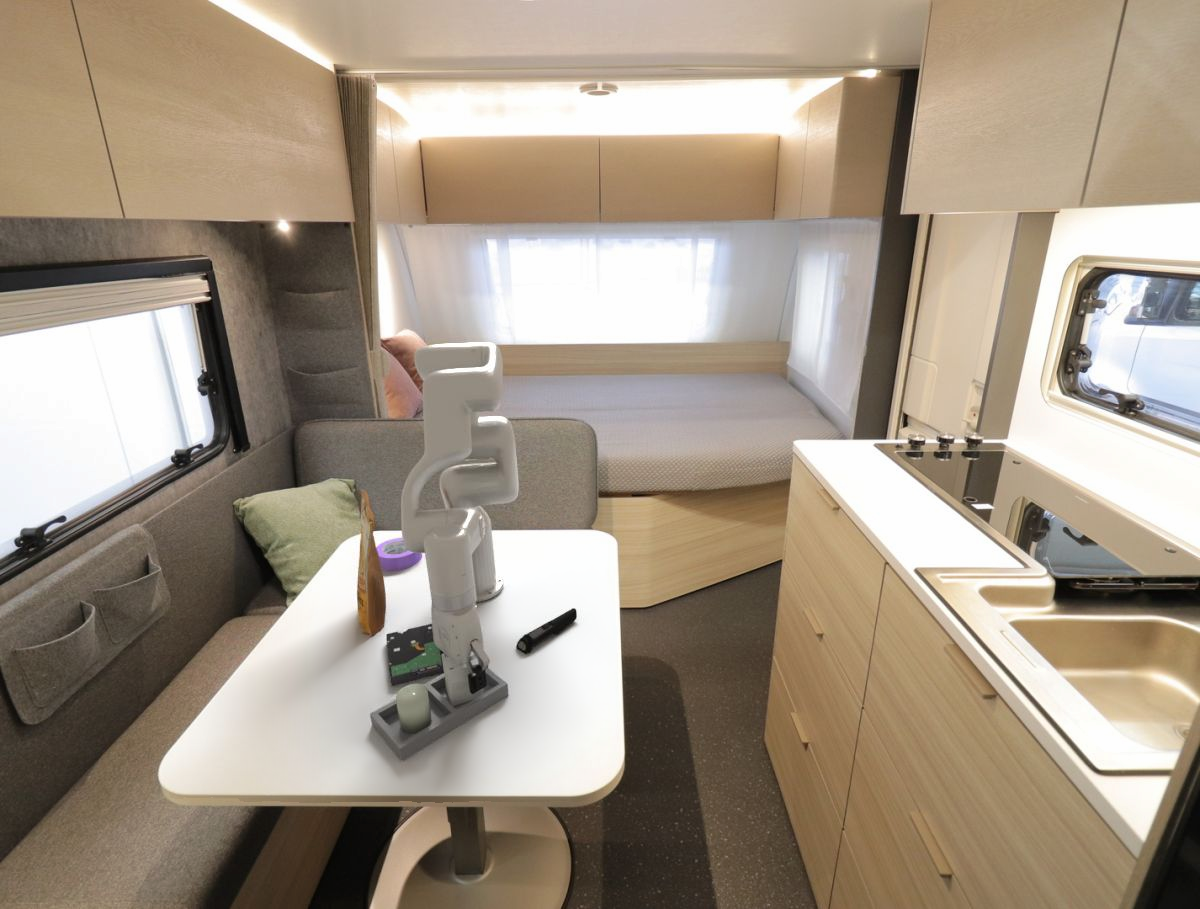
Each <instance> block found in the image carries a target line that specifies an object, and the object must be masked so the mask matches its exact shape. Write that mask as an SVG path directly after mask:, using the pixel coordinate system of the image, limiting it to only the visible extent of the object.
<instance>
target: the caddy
mask: <svg viewBox="0 0 1200 909" xmlns="http://www.w3.org/2000/svg"><path fill="white" fill-rule="evenodd" d="M485 672H486V681H487V685H486V687H484V688H483V691H484V694H482V695H480V696H479V697H477V698H475V699H474V700H472V701H468V702H465V703H462V704H459V705H455V706H452V705H451V703H450V700H449V697H448V693H447V690H446V683H445V676H444V673H443V674H439V675H437V676H436V677H434V678H432V679H430V680H429V681H427V682H425V683H423V684H422V685H424V686H426V688H427V690H428V697H429V704H430V710H431V717H432V721H431V724H430V725H429V727H427V728H425V729H424V730H422V731H420V732H419V733H416V734H407V733H405V732H403V731H402V730H401V726H400V721H399V715H398V709H397V703H396V699H394V700H392V701H391V702H389V703H387V704H385V705H383V706H381V707H380V708H378V709H376V710H374V711H372V712H371V713H370V714H369V716H370V720H371V721H370V722H371V726H372V727H373V729H374V730H375V731H376V732H377V733H378V734H379V736H380V737H381V738H382V740H383V741H384V742H385V743H386V744H387V745H388V746H389V748H390V749H391V750H392V751H393V752H394V754H395V755H396V756H397V757H398V758H399V760H400V762H404V761H406V759H409V758H410V757H412V756H413V755H415V754H417V753H418V752H420V751H422V750H423V749H425V748H426V747H428V746H429V745H431V744H432V743H434V742H435V741H438V740H439V739H441V738H442V737H444V736H446V735H448V734H449V733H450V732H453V730H455V729H457V728H458V727H460V726H461V725H463V724H465V723H466V722H468V721H469V720H471V719H473V718H475V717H476V716H478V715H480V714H481V713H482V712H484V711H486V710H488V709H490V708H491V707H492V706H494V705H496V704H497V703H499V702H500V701H502V700H503V699H505V698H507V697H508V696H509V686H508V685H509V684H508V683H507V682H506V681H505V680H503V679H502V678H501V677H500V676H499V675H497V673H495V672H494V671H492V670H491V669H490V668H489V667H488V668H487V669H486V670H485Z"/></svg>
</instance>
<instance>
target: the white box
mask: <svg viewBox="0 0 1200 909" xmlns="http://www.w3.org/2000/svg"><path fill="white" fill-rule="evenodd" d="M473 655H474V653H473V651H472V652H471V654H470V657H471V656H473ZM442 662H443V669H444V673H443V674H444V676H445V683H446V690H447V693H448V697H449V700H450V703H451V705H452V706H455V705H459V704H462V703H465V702H468V701H472V700H474V699H475V698H477V697H479V696H480V695H482V694H484V691H483V689H481V690H479V691H478V692H476V693H474V694H471V693H470V689H469V681H468V674H470V673H469V670H468V668H467V666H466V664H464V665H459V664H457V663H456V662H454V661H453V660H452V659H451V658H449V657H448V656H447V655H446V654H445V653H443V654H442ZM471 663H472V666H473V668H475V667H476V666H477V665H478V660H477V658H475V659H473V660H471Z"/></svg>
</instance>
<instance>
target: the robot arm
mask: <svg viewBox="0 0 1200 909" xmlns="http://www.w3.org/2000/svg"><path fill="white" fill-rule="evenodd" d="M413 360H414V365H415V368H416V371H417V372H416V373H418V376H419V377H420V378H421V379H422V381H423V383H422V409H423V410H422V411H423V415H422V416H423V435H424V436H423V439H424V452H423V455H422V456H421V458H420V459H419V460H418V462H417V463H416V464H415V465H414V467H413V468H412V470H411V471H410V472H409V474H408V476H407V478H406V480H405V481H404V485H403V488H402V492H401V498H400V499H401V500H400V501H401V502H400V509H401V510H400V514H401V515H400V516H401V535H402V537H401V538H403V542H404V545H405V547H406V548H407V549H408V550H409V551H411V552H413V553H422V554H424V556H425V564H426V569H427V576H428V577H427V578H428V584H429V591H430V598H431V607H430V610H431V612H430V613H431V614H430V615H431V624H432V630H433V639H434V643H435V645H436V646H437V647H438V648H439V649H440V650H441V651H440V656H441V663H442V668H443V662H442V654H443V653H445V654H446V655H447V656H448V657H449V658H451V659H452V660H453V661H454V662H456V663H457V664H459V665H464V664H466V666H467V668H468V670H469V673H470V674H468V681H469V689H470V693H471V694H474V693H476V692H478V691H479V690H481V689H483V688H484V687H486V685H487V681H486V672H485V670H486V669H487V668H489V665H490V658H489V656H488V655H487V653H486V651H485V650H484V649H485V648H484V638H483V630H482V624H481V621H480V616H479V612H478V607H477V604H476V603H480V602H484V601H487V600H490V599H493V598H494V597H496V596H497V595H499V594H500V593H501V592H502V590H503V589H504V580H503V578H502V577H501V575H499V574H498V573H496V564H495V562H496V561H495V554H494V553H495V552H494V543H493V542H494V541H493V540H494V539H493V530H492V521H491V519H490V517H489V514H488V513H487V512H486V510H485V509H484V508H483V507H482V506H487V505H502V504H508V503H512V502H514V501H515V500H516V499H517V498H518V495H519V490H520V485H519V482H520V481H519V472H518V459H517V451H516V450H517V449H516V439H515V433H514V428H513V425H512V423H511V421H510V420H509V419H508V417H505V416H503V415H489V416H487V415H486V416H480V415H479V413H485V412H494V411H497V410H498V409H499V408H500V406H501V404H502V399H503V388H504V387H503V386H504V385H503V382H504V380H503V375H504V374H503V373H504V372H503V371H504V362H503V355H502V353H501V350H500V348H499V346H498V345H497V344H496V343H493V342H490V341H489V342H488V341H479V342H478V341H477V342H461V343H460V342H457V343H456V342H455V343H452V342H451V343H438V344H437V343H435V344H429V345H425V346H421V347H419V348H417V350H416V351H415V353H414V356H413ZM479 460H480V461H481V460H493V462H482V463H478V462H477V463H476V462H475V463H465V464H458V463H460V462H462V461H463V462H464V461H466V462H467V461H479ZM494 461H495V462H494ZM456 464H457V465H456ZM441 471H442V473H441V474H440V476H439V490H440V493H441V494H440V495H441V496H442V500H443V502H444V503H443V504H444V506H445V508H441V509H440V508H439V509H428V510H425V509H424V510H419V500H420V495H421V491H422V490H423V488H424V486H425V485H426V484H427V483H428V482H429V480H431V479H432V477H434V476H435V475H437V474H438V473H440V472H441ZM472 651H473V653H474V655H473V656H471V657H470V654H471V652H472ZM475 658H477V660H478V665H477V666H476V667H475V668H473V666H472V663H471V660H473V659H475Z"/></svg>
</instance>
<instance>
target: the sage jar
mask: <svg viewBox="0 0 1200 909" xmlns="http://www.w3.org/2000/svg"><path fill="white" fill-rule="evenodd" d="M395 700H396V703H397V709H398V715H399V721H400V726H401V730H402V731H403V732H405V733H407V734H416V733H419V732H420V731H422V730H424V729H425V728H427V727H429V725H430V724H431V721H432V717H431V710H430V704H429V697H428V690H427V688H426V686H424V685H423V684H421V683H411V684H408V685H405V686H404V687H402V688H400V689H399V690H398V691H397V693H396V694H395Z"/></svg>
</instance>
